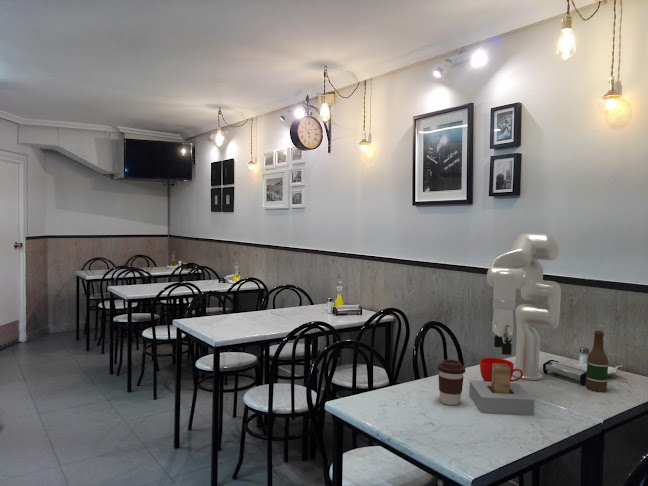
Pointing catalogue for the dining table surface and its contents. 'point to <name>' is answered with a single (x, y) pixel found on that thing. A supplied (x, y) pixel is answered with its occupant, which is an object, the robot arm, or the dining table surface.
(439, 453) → the dining table surface
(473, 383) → the well block
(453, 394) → the coffee cup
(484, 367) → the ceramic cup
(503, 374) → the brown rectangular block
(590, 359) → the beer bottle
